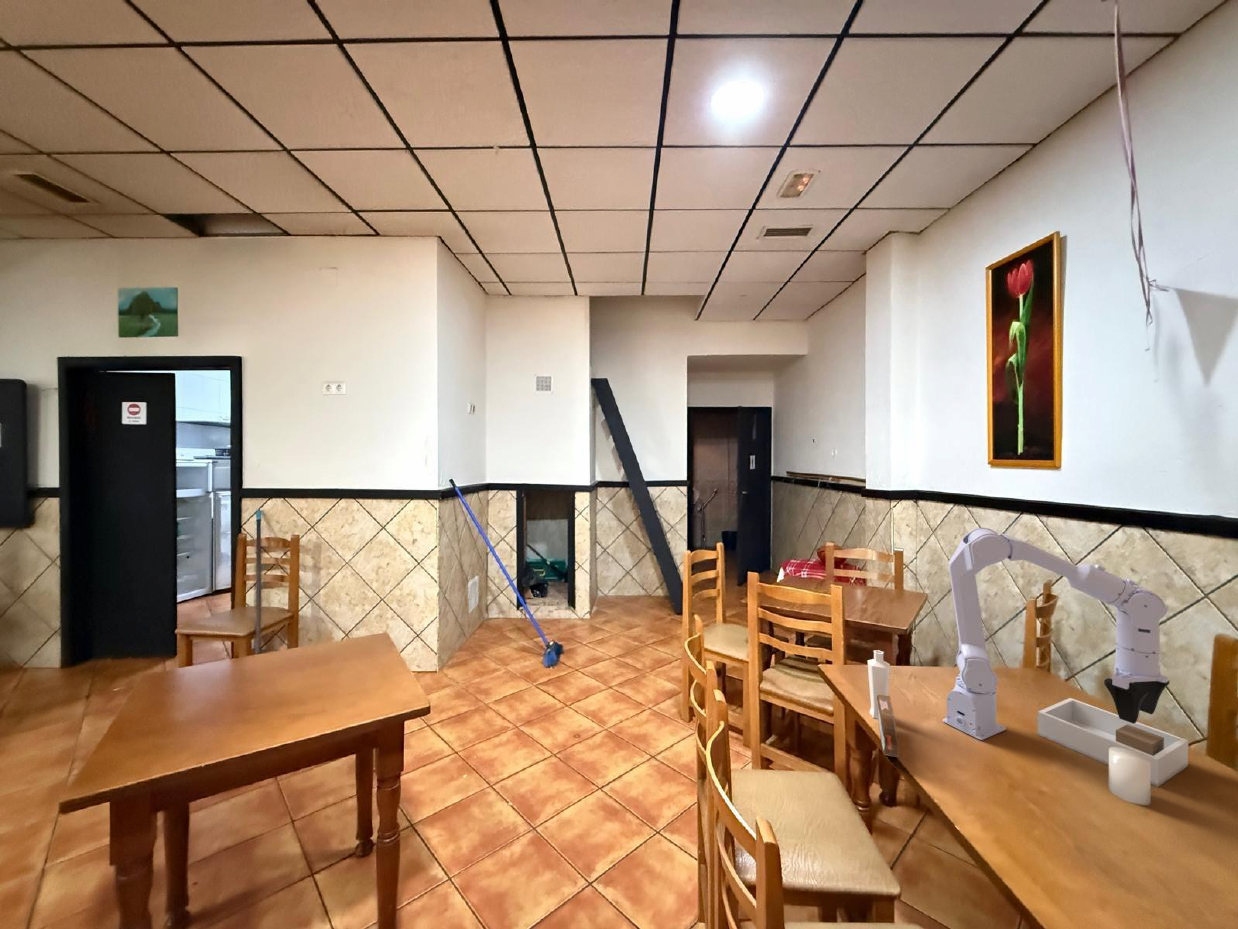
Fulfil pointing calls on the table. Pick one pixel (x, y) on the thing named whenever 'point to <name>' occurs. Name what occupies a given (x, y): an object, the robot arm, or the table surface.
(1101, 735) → the tote
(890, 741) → the tin
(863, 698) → the table surface
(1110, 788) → the ceramic cylinder
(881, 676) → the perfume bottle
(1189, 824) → the table surface
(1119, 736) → the walnut cube
